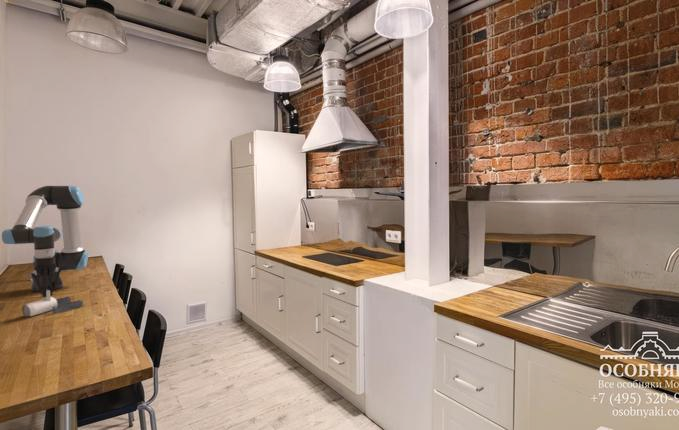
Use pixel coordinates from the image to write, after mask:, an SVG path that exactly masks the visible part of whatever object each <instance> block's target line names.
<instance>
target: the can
mask: <svg viewBox="0 0 679 430" xmlns="http://www.w3.org/2000/svg"><path fill="white" fill-rule="evenodd" d="M50 299H51V301H47V300H46V299H44V298H43V299H40V300H37V301H35V300H34V301H32V302H29V303H27V304H25V305H23V306H22V308H21V312H22V314H23V316H24V317H26V318H27V317H34V316H37V315H40V314H44V313H47V312H50V311H52V307H54V306H57V300H56V299H57V298H55V297H54V296H50Z"/></svg>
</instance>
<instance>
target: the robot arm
mask: <svg viewBox="0 0 679 430" xmlns="http://www.w3.org/2000/svg"><path fill="white" fill-rule="evenodd" d="M84 200H85V197H84V194H83V190H82V189H81V188H80V187H79V186H78V185H77V186H73V185H44V186H41V187H38V188H36V189H35V190H33V191H32V192H31V193H29V194H28V195H27V196H26V199H25V205H24V207H23V208H22V210H21V211H20V212H21V213H20V214H19V216H18V218H17V220H16V222H15V223H14V225H13V227H12V228H8V229H4V230H3V231H2V233H1V240H2V242H3V244H5V245H21V244H22V245H24V244H25V245H26V244H33V245H34V255H33V261H32V263H33V271H32V272H29V273H28V275H29V276H30V277H31V278H32V279H33V281H32V283H31V285H30V291H31V292H36V293H37V292H38V293H41V297H42V298H43V299H46V300H47V301H51V299H50V297H53V291H55V290H59V289H61V288H63V287H64V282H63V280H62V278H61V276H60V274H61V272H64V271H77V270H84V269H85V268H86V267H87V264H88V261H89V251H88V250H85V247H84V246H82V243H81V242H82V238H81V230H80V229H81V227H80V217H79V216H80V214H79V210H80V209H81V208H82V206H83V205H84V204H85V201H84ZM47 206H56V209H57V210H59V212H60V219H61V220H60V222H61V230H60V229H59V228H57V227H53V226H51V225H38V226H35V225H36V223H37V221H38V220H39V217H40V215H41V213H42V211H43V209H46V208H47ZM61 237H62V240H63V241H62V242H63V248H62V249H61V250H60V252H59V251H58V250H57V249H56V250H55V242H57V241H59V240H60V239H61Z"/></svg>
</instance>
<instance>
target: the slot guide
mask: <svg viewBox="0 0 679 430" xmlns="http://www.w3.org/2000/svg"><path fill="white" fill-rule="evenodd" d="M55 299H56V300H57V306H54V307H52V310H51V311H52V312H51V313H52V314H55V315H57V314H60V313H64V312H68V311H72V310H75V309H80V308H82V307H84V305H83V303H84V301H83V300H80V299H79V300H74V301H71V297H69V296H65V297H61V298H55Z"/></svg>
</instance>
